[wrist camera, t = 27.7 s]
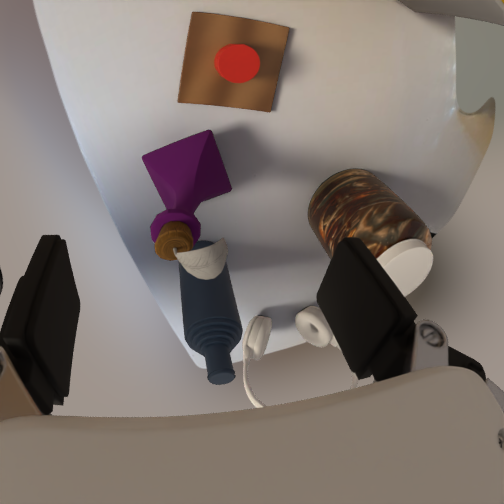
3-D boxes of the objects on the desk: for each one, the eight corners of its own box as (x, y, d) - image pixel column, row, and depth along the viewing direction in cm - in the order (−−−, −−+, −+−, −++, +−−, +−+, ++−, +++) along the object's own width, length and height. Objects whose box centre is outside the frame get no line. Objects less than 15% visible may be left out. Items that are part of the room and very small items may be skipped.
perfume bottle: (169, 199, 36) (171, 318, 22) (144, 146, 31) (119, 246, 17) (228, 177, 36) (266, 286, 22) (208, 120, 31) (236, 201, 17)
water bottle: (177, 276, 44) (188, 394, 30) (179, 240, 40) (190, 364, 26) (221, 276, 46) (247, 390, 32) (227, 240, 42) (259, 359, 28)
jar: (353, 246, 48) (400, 316, 36) (293, 228, 43) (336, 309, 31) (393, 184, 42) (458, 247, 30) (335, 154, 37) (404, 219, 25)
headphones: (229, 310, 51) (256, 423, 36) (332, 293, 54) (380, 389, 39) (231, 335, 55) (255, 437, 40) (324, 319, 59) (365, 408, 44)
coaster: (177, 101, 29) (177, 102, 28) (192, 12, 23) (192, 11, 22) (269, 111, 32) (270, 112, 31) (288, 27, 26) (289, 27, 25)
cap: (259, 55, 27) (268, 57, 24) (239, 85, 29) (245, 90, 26) (227, 37, 25) (232, 37, 23) (206, 68, 27) (209, 71, 24)
